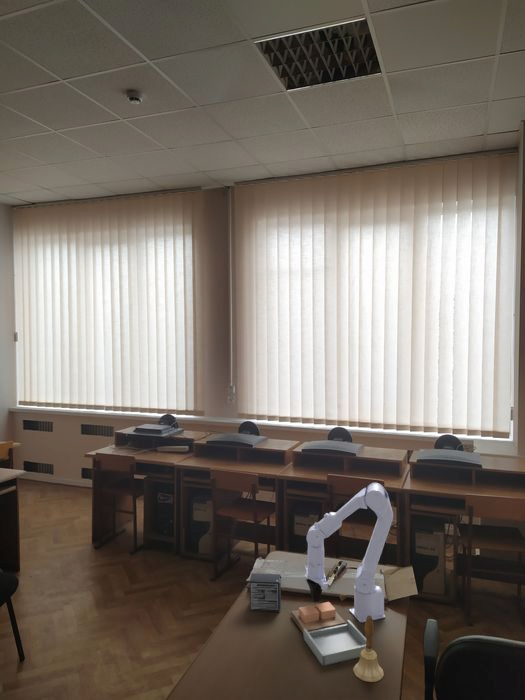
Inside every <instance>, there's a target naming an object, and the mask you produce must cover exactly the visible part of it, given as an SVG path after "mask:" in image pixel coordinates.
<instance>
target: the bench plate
mask: <svg viewBox="0 0 525 700" xmlns="http://www.w3.org/2000/svg"><path fill="white" fill-rule="evenodd" d="M290 615H291V616H290V617H291V619H292V620H293V622H295V625H296V626H297V627H298V629H299V630H300V631H301V632H302V634H303V629H306V630H307V631H308V632H310V631H315V630H320V629H324V628H329V627H334V626H339V625H343V624H347V621H345V619H344V618H342V617H341V615H339V613H338V612H337V611H336V617H332V618H327V619H321V618H320V617H319V620H317V621H313V622H308V623H305V622H304V621H303V620H302V618H301V617H300V616H299V609H296V610H295V609H294V610H291V612H290Z"/></svg>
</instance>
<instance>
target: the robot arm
mask: <svg viewBox="0 0 525 700" xmlns="http://www.w3.org/2000/svg"><path fill="white" fill-rule="evenodd" d="M368 508H369V509H371V511H373V512H374V513H375V515H376V517H377V520H376V523H375V525H374V528H373V531H372V534H371V536H370V537H371V538H370V540H369V543H368V546H367V548H366V552H365V555H364V556H363V558H362V561H361V563H360V564H359V565H358V566H357V568H356V571H355V572H356V575H355V580H354V586H353V587H354V588H353V589H354V590H353V591H354V592H353V593H354V594H353V595H354V596H353V597H354V599H353V600H354V601H353V602H354V603H353V604H354V605H353V608H349V610H348V611H349V612H350V613H351V614H352V615H353V616H354V617H355V619H356V620H357V621H359V623H365V622H366V619H367V616H372V620H373V621H376V620H379V619H385V618H386V615H385V597H384V592H383V589H382V588H381V587H380V586H379V585H375V575H376V573H377V572H376V571H377V568H378V563H379V561H380V558H381V556H382V553H383V549H384V546H385V543H386V542H387V538H388V534H389V532H390V529H391V526H392V523H393V519H394V512H393V508H392V505H391V501H390V497H389V493H388V492H387V490H386V488H385V487H384V486H383V485H382V484H380V483H378V482H372V483H370V484H369V485H367V487H364V488H362V489H360V491H359V492H358V493H356V494H355V495H354V496H353V497H352V498H350V500H349V501H348V502H346V503H345V504H344V505H343V506H342V507H341V508H339V509H338V510H337V511H336V512H335V511H334V512H333V511H330V512H329V513H328V512H326V513H325V514H323V517H322V519H320V520H319V521H318V522H316V521H315V522H314V523H313V525H312V526H310V527H309V529H308V531H307V534H306V543H307V565H304V572H305V573H306V574H304V578H305V579H306V580H305V581H306V582H307V585H308V587H309V591H310V595H311V596H310V597H311V599H312V601H313V602H314V603H316V602H320V600H321V596H322V592H323V591H324V590H325V591H326V590H328V589H329V588H328V586H329V585H328V584H329V583H328V582H327V578H326V573H325V547H324V546H325V545H324V543H325V542H324V541H325V539H327V538H329V537H330V536H331V535H333V534H334V533H335V532H336V531H338V530H339V529H340V528H341V527H342V525H343V521H345V519H346V518H347V517H349V516H350V515H352V514H353V513H354V512H356V511H357V510H359V509H365V510H367V509H368Z"/></svg>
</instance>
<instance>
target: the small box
mask: <svg viewBox="0 0 525 700" xmlns="http://www.w3.org/2000/svg"><path fill="white" fill-rule="evenodd" d="M281 578H282V577H281V574H280V573H279V574H278V573H251V574H250V578H249V611H250V612H271V613H272V612H273V613H280V612H281V606H282V594H281V593H282V590H281V589H282V588H281V587H282V585H281V584H282V582H281Z"/></svg>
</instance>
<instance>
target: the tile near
mask: <svg viewBox="0 0 525 700" xmlns="http://www.w3.org/2000/svg"><path fill="white" fill-rule="evenodd" d="M314 607H315V608H316V609H317V611H318V612H319V617H320V618H321V619H327V618H332V617H336V612H337V611H336V607H334V605H332V603H331V602H330V601H326V602H321V603H315V606H314Z"/></svg>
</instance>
